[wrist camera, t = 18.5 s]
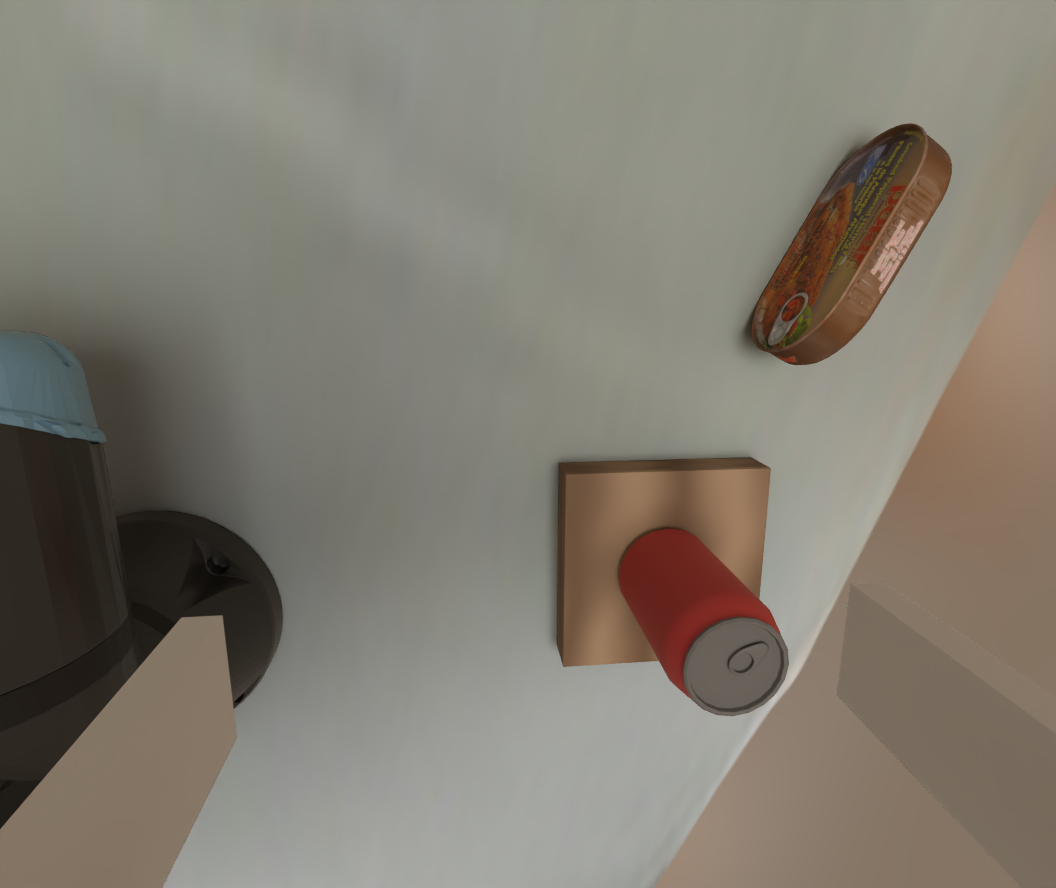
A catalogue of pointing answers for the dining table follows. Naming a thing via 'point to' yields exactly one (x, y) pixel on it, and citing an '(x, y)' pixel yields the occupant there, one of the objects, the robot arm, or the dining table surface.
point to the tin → (852, 246)
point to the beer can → (703, 623)
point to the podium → (632, 512)
